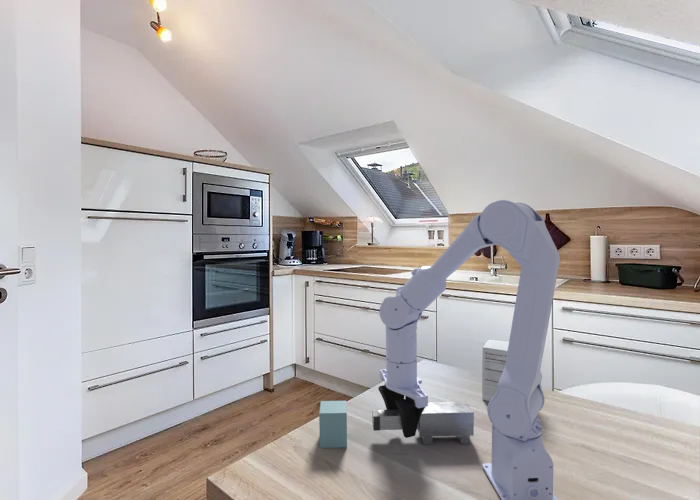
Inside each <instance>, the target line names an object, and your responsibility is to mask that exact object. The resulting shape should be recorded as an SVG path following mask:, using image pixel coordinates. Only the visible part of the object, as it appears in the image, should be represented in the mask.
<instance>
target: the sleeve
mask: <svg viewBox="0 0 700 500" xmlns="http://www.w3.org/2000/svg"><path fill="white" fill-rule="evenodd" d="M474 420H475V413H474V410H473V409H472V408H471V407H470V405H469V404H468V402H467V401H436V402H434V401H433V402H432V401H431V402H430V401H428V406H427V407H425V409H424V410H423V412H422V414H421V416H420V419H419V429H417V430H416V431H417V432H418V436H419V437H420V439H421V442H422V444H423V446H429V445H430V446H431V445H432V446H433V437H457V439H458V440H459V443H460V445H470V444H471V443H470V442H471V436H472V437H473V436H475V435H474V431H475V429H474V427H475V425H474V424H475V423H474V422H475V421H474Z"/></svg>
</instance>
